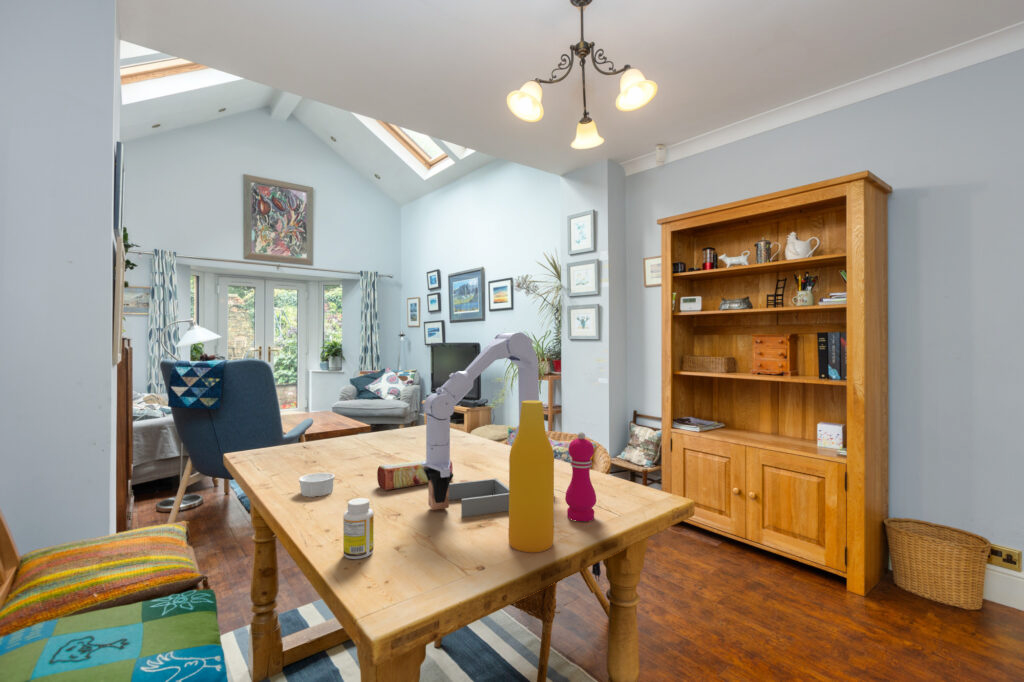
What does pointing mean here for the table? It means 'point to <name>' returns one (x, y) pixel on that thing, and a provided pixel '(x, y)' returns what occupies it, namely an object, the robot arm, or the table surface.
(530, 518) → the beer bottle
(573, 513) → the pepper mill
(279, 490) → the table surface
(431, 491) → the block
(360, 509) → the supplement bottle
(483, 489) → the open side box
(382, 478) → the snack package
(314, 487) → the ramekin
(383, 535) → the table surface
